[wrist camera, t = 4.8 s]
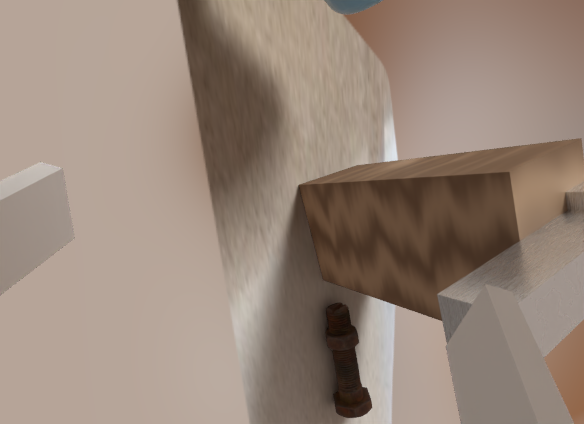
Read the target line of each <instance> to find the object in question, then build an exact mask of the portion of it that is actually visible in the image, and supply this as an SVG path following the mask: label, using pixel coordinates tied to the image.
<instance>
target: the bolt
mask: <svg viewBox="0 0 584 424" xmlns="http://www.w3.org/2000/svg"><path fill="white" fill-rule="evenodd" d="M326 314H327V318H328V319H327V320H328V325H329V329H327V330H326V332H325V333H326V339H327V345H328V347H329V348H330V349H332V350H333V356H334V362H335V368H336V374H337V380H338V390H339V391H338V392H336V393H334V394H333V395H334V401H335V407H336V413H338V414H339V415H341V416H343V417H346V418H356V417H361V416H363V415H365V414H367V413H368V412H369V411H370V410H371V408H372V403H371V398H370V395H369V392H368V389H367V388H365V387H362V384H361V382H360V376H359V369H358V363H357V358H356V351H355V346H356V345H357V344H358V343H359V339H358V334H357V330H356V328H355V327H354V326H352V325H351V321H350V315H349V310H348V307H347V305H346V304H345V305H343V304H342V303H336V304H333V305H331V306H329V307H328V309H327V310H326Z"/></svg>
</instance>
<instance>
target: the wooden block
mask: <svg viewBox="0 0 584 424" xmlns="http://www.w3.org/2000/svg"><path fill="white" fill-rule="evenodd" d="M583 181H584V159H583V150H582V141H581V139H572V140H563V141H555V142H547V143H539V144H530V145H522V146H514V147H505V148H497V149H489V150H481V151H472V152H464V153H456V154H448V155H440V156H432V157H423V158H415V159H407V160H398V161H390V162H382V163H374V164H365V165H357V166H354V167H351V168H348V169H345V170H342V171H339V172H336V173H333V174H330V175H327V176H324V177H321V178H318V179H315V180H312V181H309V182H306V183H303V184H300V185H299V188H300V192H301V196H302V200H303V204H304V207H305V211H306V215H307V219H308V223H309V227H310V230H311V234H312V238H313V242H314V246H315V250H316V253H317V257H318V261H319V265H320V269H321V273H322V277H323V280H325V281H328V282H331V283H334V284H337V285H340V286H343V287H345V288H348V289H351V290H354V291H357V292H360V293H363V294H366V295H369V296H371V297H374V298H377V299H380V300H383V301H386V302H389V303H392V304H395V305H397V306H400V307H403V308H406V309H409V310H412V311H415V312H418V313H421V314H423V315H427V316H429V317H432V318H435V319H438V320H441V321H442V317H441V312H440V307H439V302H438V297H437V294H438V293H440V292H441V291H443V290H444V289H446V288H448V287H449V286H451V285H452V284H454V283H455V282H457V281H458V280H460V279H462V278H463V277H465V276H466V275H468V274H469V273H471V272H472V271H474V270H476V269H477V268H479V267H480V266H482V265H483V264H485V263H486V262H488V261H490V260H491V259H493V258H494V257H496V256H497V255H499V254H500V253H502V252H504V251H505V250H507V249H508V248H510V247H511V246H513V245H514V244H516V243H518V242H519V241H521V240H522V239H524V238H525V237H527V236H528V235H530V234H532V233H533V232H535V231H536V230H538V229H539V228H541V227H542V226H544V225H546V224H547V223H549V222H550V221H552V220H553V219H555V218H556V217H558V216H560V215H561V214H563V213H564V212H566V211H567V210H568V208H567V200H566V191H568V190H570V189H572V188H573V187H575V186H577V185H578V184H580V183H582V182H583Z"/></svg>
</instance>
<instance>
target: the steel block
mask: <svg viewBox="0 0 584 424" xmlns="http://www.w3.org/2000/svg"><path fill="white" fill-rule="evenodd" d="M566 200H567V208H568V210H567V211H566V212H564V213H563V214H561V215H560V216H558V217H556V218H555V219H553V220H552V221H550V222H549V223H547V224H546V225H544V226H542V227H541V228H539V229H538V230H536V231H535V232H533V233H532V234H530V235H528V236H527V237H525V238H524V239H522V240H521V241H519V242H518V243H516V244H514V245H513V246H511V247H510V248H508V249H507V250H505V251H504V252H502V253H500V254H499V255H497V256H496V257H494V258H493V259H491V260H490V261H488V262H486V263H485V264H483V265H482V266H480V267H479V268H477V269H476V270H474V271H472V272H471V273H469V274H468V275H466V276H465V277H463V278H462V279H460V280H458V281H457V282H455V283H454V284H452V285H451V286H449V287H448V288H446V289H444V290H443V291H441V292H440V293H438V294H437V297H438V302H439V307H440V312H441V317H442V322H443V327H444V332H445V336H446V342H447V344H448V342H449V340H450V339H451V337H452V336H453V334H454V333H455V331H456V329H457V328H458V326H459V325H460V323H461V321H462V320H463V318H464V317H465V315H466V314H467V312H468V310H469V309H470V307H471V306H472V304H473V302H474V301H475V299H476V298H477V296H478V295H479V293H480V291H481V290H482V288H483V287H484V285H485V284H486V285H490V286H494V287H497V288H501V289H505V290H508V291H512V292H513V294H514V296H515V298H516V300H517V302H518V305H519V307H520V309H521V311H522V313H523V315H524V317H525V319H526V322H527V324H528V326H529V328H530V330H531V332H532V334H533V337H534V339H535V341H536V343H537V345H538V347H539V349H540V352H541V354H542V356H543V358H544V357H545V356H546V355H547V354H548V353H549V352H550V351H551V350H552V349H553V348H554V347H556V346H557V344H559V343H560V342H561V340H563V339H564V338H565V337H566V336H567V335H568V334H569V333H570V332H571V331H572V330H573V329H574V328H575V327H576V326H577V325H578V324H579V323H580V322H581V321H582V320H583V319H584V181H583V182H582V183H580V184H578V185H577V186H575V187H573V188H572V189H570V190H568V191H566Z"/></svg>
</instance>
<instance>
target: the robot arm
mask: <svg viewBox="0 0 584 424" xmlns="http://www.w3.org/2000/svg"><path fill="white" fill-rule="evenodd" d="M324 1H325V2H326V3H327V4H328V5H329V7H330V8H331V9H332V10H334V11H335V12H337V13H340V14H354V13H357V12H360V11H363V10H366V9H368V8H370V7H372V6H374V5H375V4H378V3H379V2H381V1H382V0H324ZM73 239H74V232H73V226H72V220H71V215H70V208H69V202H68V196H67V190H66V184H65V178H64V173H63V168H60V167H57V166H53V165H50V164H46V163H42V162H40V163H38V164H35V165H33V166H31V167H29V168H27V169H25V170H23V171H20V172H18V173H16V174H14V175H12V176H10V177H7V178H5V179H3V180H1V181H0V295H1V294H3V293H4V292H5V291H7V290H8V289H9V288H11V287H12V286H13V285H14V284H16V283H17V282H18V281H20V280H21V279H22V278H24V277H25V276H26V275H27V274H29V273H30V272H31V271H33V270H34V269H35V268H37V267H38V266H39V265H40V264H42V263H43V262H44V261H46V260H47V259H48V258H50V257H51V256H52V255H53V254H55V253H56V252H57V251H59V250H60V249H61V248H63V247H64V246H65V245H66V244H68V243H69V242H70V241H72V240H73ZM446 350H447V355H448V360H449V365H450V371H451V376H452V381H453V385H454V391H455V396H456V401H457V405H458V411H459V416H460V421H461V424H574V422H573V420H572V418H571V416H570V414H569V411H568V409H567V407H566V405H565V403H564V401H563V399H562V396H561V394H560V392H559V390H558V388H557V386H556V384H555V382H554V379H553V377H552V375H551V373H550V371H549V369H548V367H547V365H546V362H545V360H544V358H543V356H542V354H541V352H540V349H539V347H538V345H537V343H536V341H535V339H534V337H533V334H532V332H531V330H530V328H529V326H528V324H527V322H526V319H525V317H524V315H523V313H522V311H521V309H520V307H519V305H518V302H517V300H516V298H515V296H514V294H513V292H512V291H508V290H505V289H501V288H497V287H494V286H490V285H486V284H485V285H484V287H483V288H482V290H481V291H480V293H479V295H478V296H477V298H476V299H475V301H474V302H473V304H472V306H471V307H470V309H469V310H468V312H467V314H466V315H465V317H464V318H463V320H462V321H461V323H460V325H459V326H458V328H457V329H456V331H455V333H454V334H453V336H452V337H451V339H450V340H449V342H448V344H447V345H446Z"/></svg>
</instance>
